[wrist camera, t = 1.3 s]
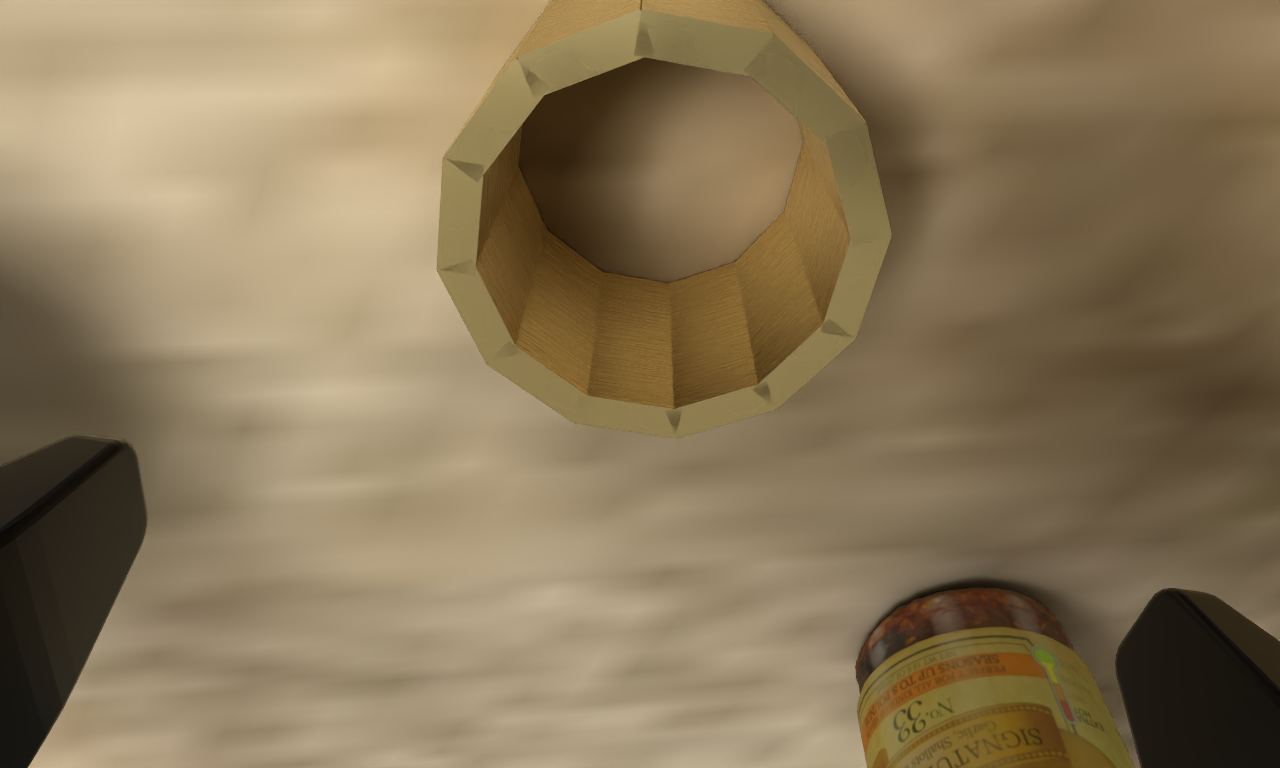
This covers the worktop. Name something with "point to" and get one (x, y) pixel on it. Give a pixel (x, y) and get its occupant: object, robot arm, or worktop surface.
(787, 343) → the sleeve
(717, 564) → the worktop surface
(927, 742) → the sauce bottle
